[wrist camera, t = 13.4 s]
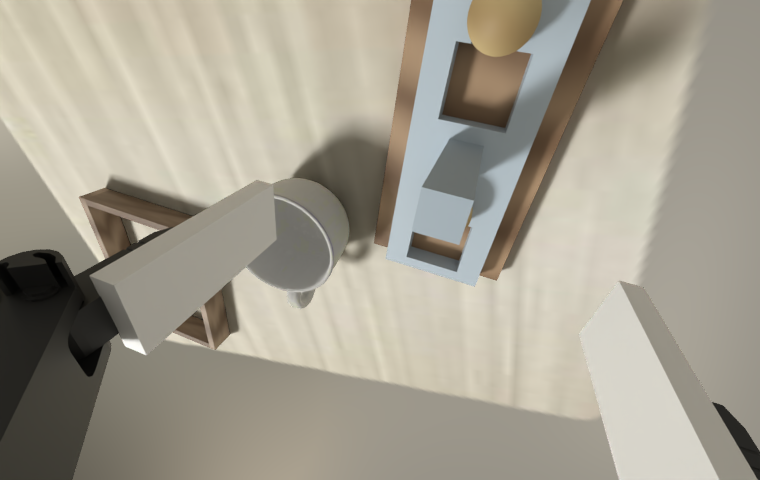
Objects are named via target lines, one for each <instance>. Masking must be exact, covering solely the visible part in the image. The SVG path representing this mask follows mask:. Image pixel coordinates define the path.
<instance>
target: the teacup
mask: <svg viewBox="0 0 760 480" xmlns="http://www.w3.org/2000/svg"><path fill="white" fill-rule="evenodd" d="M273 190H274V206H275V222H276V237H277V240H276V241H274V242H273V243H272V244H271V245H270V246H269V247H268V248H267V249H265V250H264V251H263V252H262V253H261V254H260V255H259V256H258V257H256V258H255V259H254V260H253V261H252V262H251V263H250V264H249V265H247V266H246V268H247V269H248V270H249V271H250V272H251V273H252V274H253V275H255V276H256V277H257V278H258V279H260V280H261V281H263V282H265V283H266V284H268V285H270V286H273V287H275V288H278V289H281V290H284V291H287V299H288V303H289V304H290V305H291V306H292V307H294V308H304V307H306V306H307V305H308V304H309V303H310V301H311V300H312V298H313V295H314V292H315V289H316V288H318V287H319V286H321V285H322V284H323V283H325V281H326V280H327V279H328V277H329V276H330V274H331V272H332V269H333V268H334V266H335V265H336V263H337V262H338V260H339V259H340V257H341V255H342V253H343V252H344V250H345V247H346V245H347V242H348V238H349V221H348V217H347V214H346V212H345V209H344V207H343V206H342V204H341V202H340V201H339V200H338V199H337V197H336V196H335V195H334V194H333V193H332V192H331V191H329V190H328V189H327V188H325V187H324V186H322V185H321V184H319V183H316V182H314V181H311V180H308V179H302V178H290V179H285V180H281V181H278V182H276V183H274V184H273Z"/></svg>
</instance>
